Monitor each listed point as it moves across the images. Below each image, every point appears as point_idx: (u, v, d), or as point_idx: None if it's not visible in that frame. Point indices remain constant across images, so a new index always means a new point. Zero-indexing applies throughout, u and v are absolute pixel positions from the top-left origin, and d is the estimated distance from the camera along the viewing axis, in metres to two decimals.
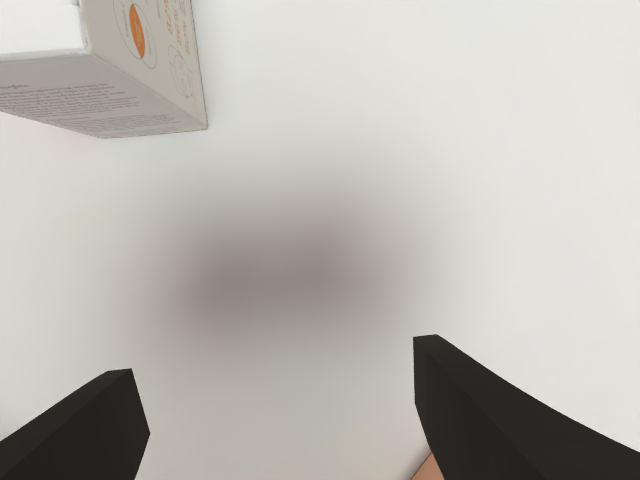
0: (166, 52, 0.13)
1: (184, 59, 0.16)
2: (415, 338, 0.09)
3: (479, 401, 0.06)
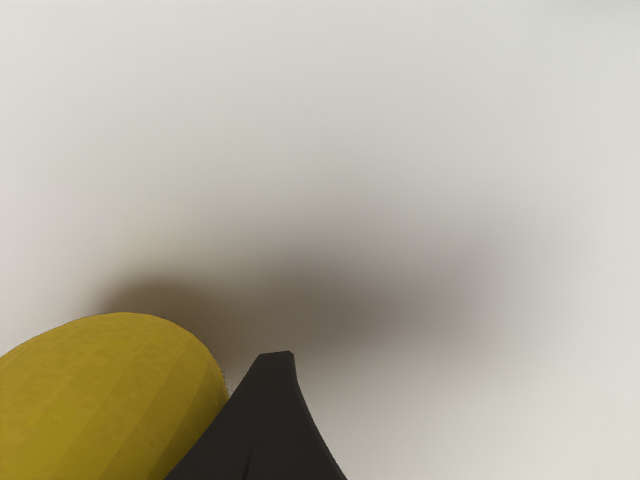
0: None
1: None
2: (264, 355, 0.09)
3: (257, 427, 0.06)
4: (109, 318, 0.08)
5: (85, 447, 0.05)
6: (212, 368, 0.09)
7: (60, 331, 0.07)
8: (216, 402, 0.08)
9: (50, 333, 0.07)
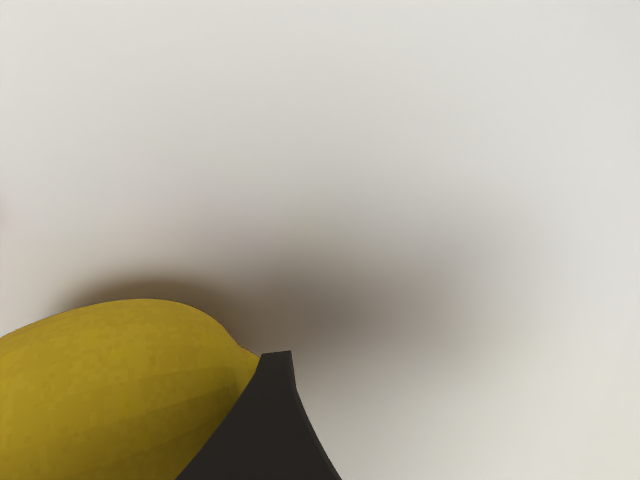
0: None
1: None
2: (261, 355, 0.09)
3: (253, 427, 0.06)
4: (143, 311, 0.09)
5: None
6: (155, 421, 0.07)
7: (115, 303, 0.09)
8: (112, 457, 0.07)
9: (114, 302, 0.09)
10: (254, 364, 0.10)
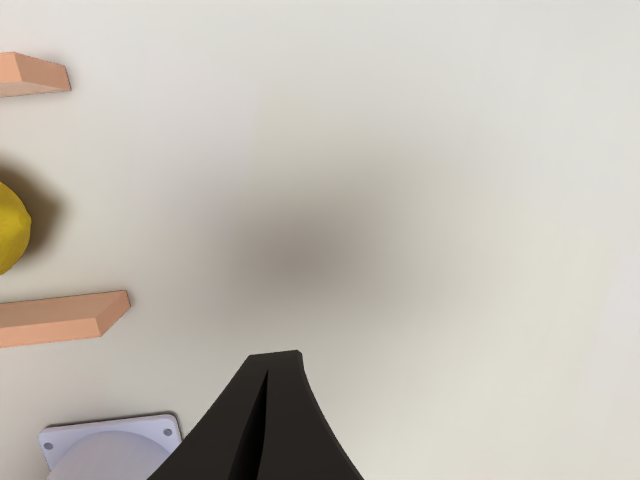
0: None
1: None
2: (272, 354, 0.09)
3: (270, 425, 0.06)
4: None
5: None
6: None
7: None
8: None
9: None
10: (5, 214, 0.15)
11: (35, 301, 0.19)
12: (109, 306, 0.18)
